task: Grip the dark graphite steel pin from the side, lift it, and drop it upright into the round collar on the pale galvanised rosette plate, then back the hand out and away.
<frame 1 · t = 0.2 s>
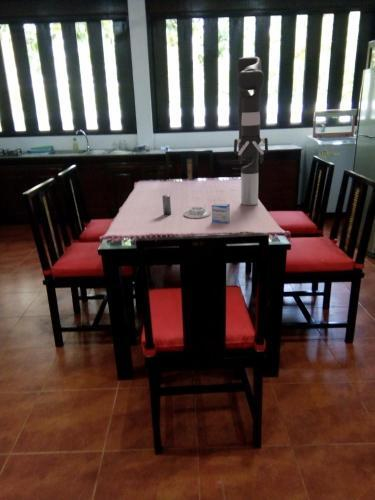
hand: (250, 163, 168), 29 cm above the table, tool pointing down, fingers open, 8 cm apart
rosette plate: (197, 214, 205), on the table
steel pin: (167, 214, 208), on the table
medicine box: (220, 222, 191), on the table
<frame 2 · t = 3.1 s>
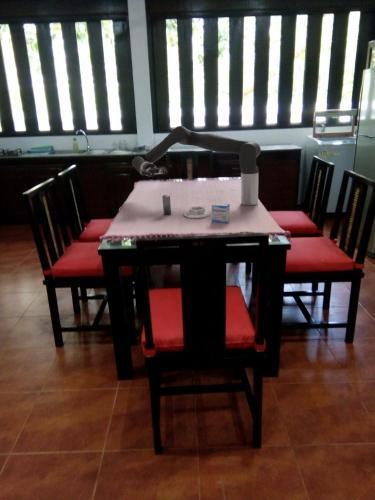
hand: (157, 173, 210), 20 cm above the table, tool horizontal, fingers open, 8 cm apart
nothing on the table moved.
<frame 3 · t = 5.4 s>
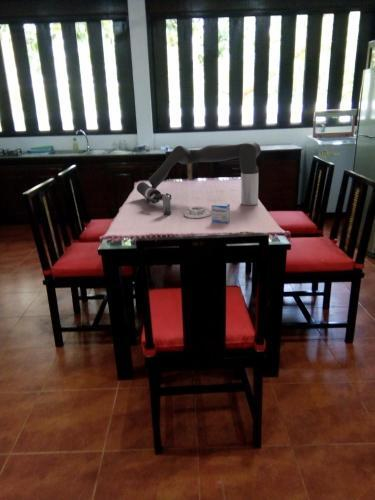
hand: (162, 200, 213), 6 cm above the table, tool horizontal, fingers open, 8 cm apart
nothing on the table moved.
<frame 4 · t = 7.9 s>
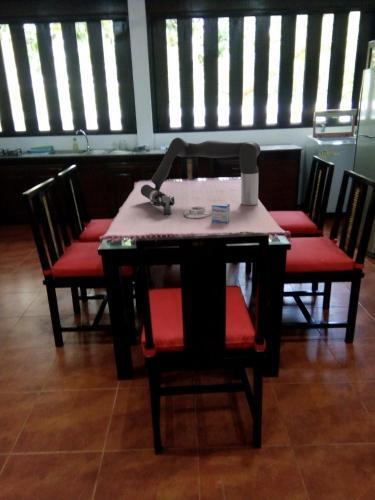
hand: (168, 204, 203), 6 cm above the table, tool horizontal, fingers closed on steel pin, 4 cm apart
steel pin: (167, 214, 208), on the table, touching gripper
everything else where it was.
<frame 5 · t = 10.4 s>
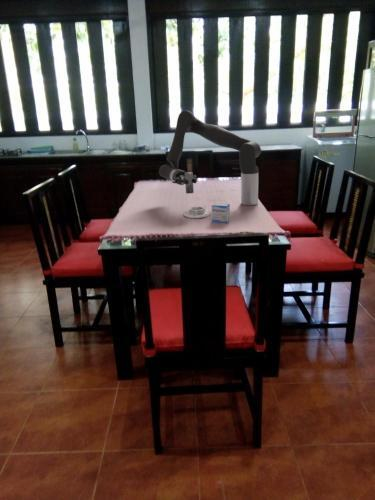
hand: (191, 181, 196), 18 cm above the table, tool horizontal, fingers closed on steel pin, 4 cm apart
steel pin: (189, 192, 201), point 12 cm above the table, touching gripper
everything else where it was.
when the fingers open (8 cm above the table, at t = 12.9 s): steel pin drops 1 cm, resting on rosette plate.
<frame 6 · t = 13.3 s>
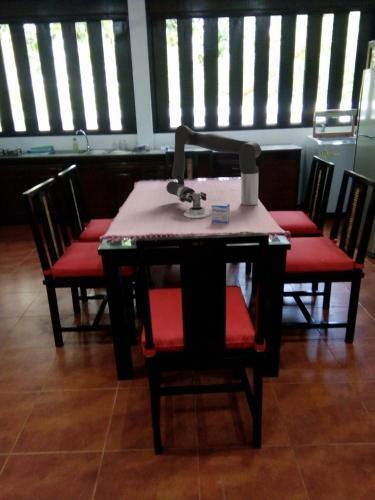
hand: (198, 199, 200), 8 cm above the table, tool horizontal, fingers open, 7 cm apart
steel pin: (197, 212, 204), point 1 cm above the table, touching rosette plate
everything else where it was.
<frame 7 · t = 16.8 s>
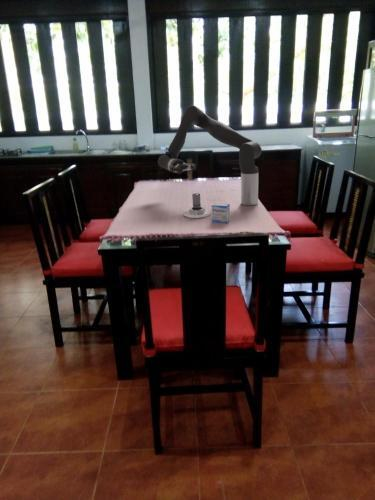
hand: (187, 169, 206), 22 cm above the table, tool horizontal, fingers open, 8 cm apart
nothing on the table moved.
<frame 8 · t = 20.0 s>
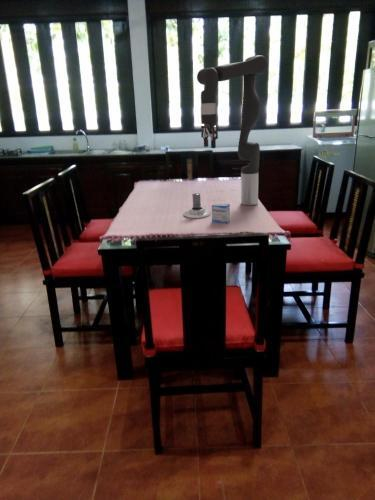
hand: (209, 147, 197), 33 cm above the table, tool pointing down, fingers open, 8 cm apart
nothing on the table moved.
at the end: steel pin 0.1 cm off-centre on the rosette plate, point 0.8 cm above the rosette plate's base; steel pin tilted 0°; the gripper is holding nothing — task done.
